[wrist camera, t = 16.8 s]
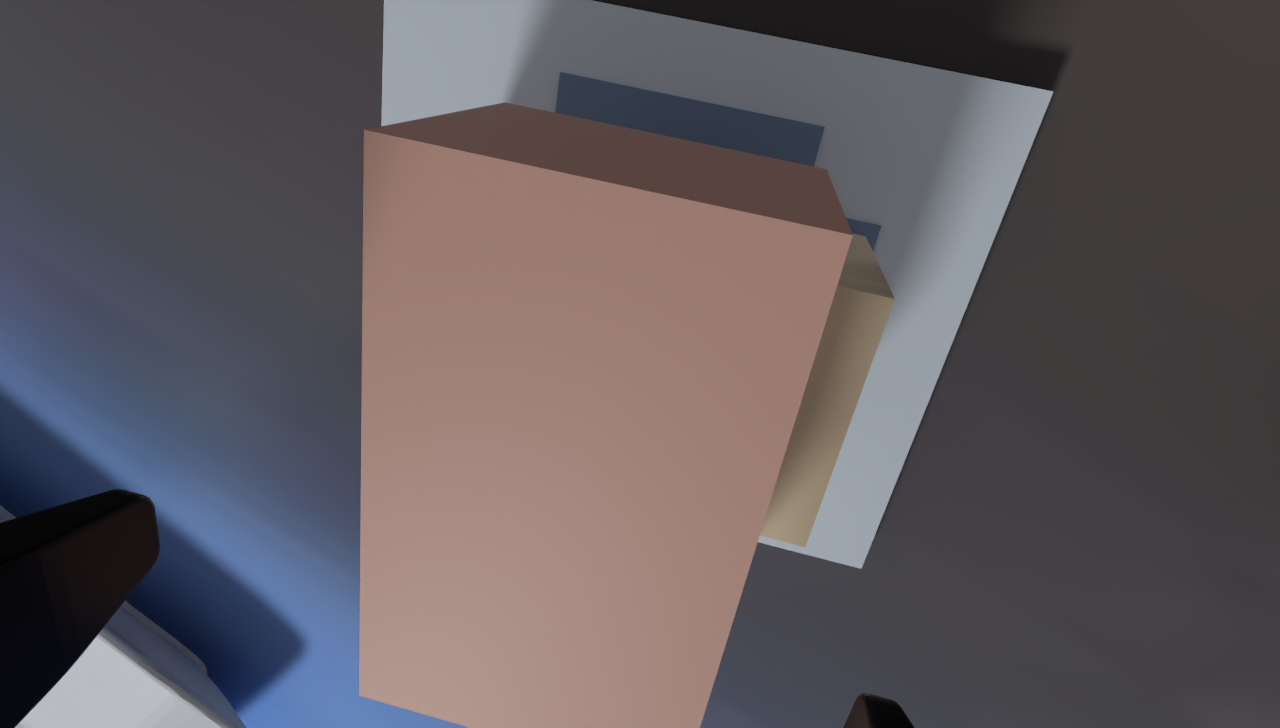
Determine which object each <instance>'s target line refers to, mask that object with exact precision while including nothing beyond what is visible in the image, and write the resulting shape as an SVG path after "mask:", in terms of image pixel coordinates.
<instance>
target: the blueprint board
mask: <svg viewBox="0 0 1280 728" xmlns="http://www.w3.org/2000/svg"><path fill="white" fill-rule="evenodd" d="M1052 94H1053V91H1048V90H1043V89H1038V88H1033V87H1028V86H1023V85H1018V84H1013V83H1008V82H1003V81H998V80H993V79H988V78H983V77H977V76H972V75H967V74H962V73H957V72H952V71H947V70H942V69H937V68H932V67H927V66H922V65H917V64H912V63H907V62H901V61H896V60H891V59H886V58H881V57H876V56H871V55H866V54H861V53H856V52H851V51H846V50H841V49H836V48H831V47H825V46H820V45H815V44H810V43H805V42H800V41H795V40H790V39H785V38H780V37H775V36H770V35H765V34H760V33H755V32H749V31H744V30H739V29H734V28H729V27H724V26H719V25H714V24H709V23H704V22H699V21H694V20H689V19H684V18H679V17H674V16H668V15H663V14H658V13H653V12H648V11H643V10H638V9H633V8H628V7H623V6H618V5H613V4H608V3H603V2H598V1H592V0H384V31H383V77H382V123H381V126H386V125H391V124H396V123H401V122H406V121H412V120H417V119H422V118H427V117H432V116H437V115H442V114H448V113H453V112H458V111H463V110H468V109H473V108H478V107H484V106H489V105H494V104H499V103H504V102H506V103H511V104H516V105H521V106H525V107H530V108H535V109H540V110H545V111H549V112H554V113H559V114H564V115H568V116H573V117H578V118H583V119H588V120H592V121H597V122H602V123H607V124H612V125H616V126H621V127H626V128H631V129H636V130H640V131H645V132H650V133H655V134H660V135H664V136H669V137H674V138H679V139H684V140H688V141H693V142H698V143H703V144H708V145H712V146H717V147H722V148H727V149H732V150H736V151H741V152H746V153H751V154H756V155H760V156H765V157H770V158H775V159H780V160H784V161H789V162H794V163H799V164H804V165H808V166H813V167H818V168H823V169H827V172H828V174H829V177H830V179H831V182H832V184H833V187H834V189H835V192H836V194H837V197H838V199H839V202H840V204H841V207H842V209H843V212H844V214H845V217H846V219H847V222H848V224H849V227H850V229H851V232H852V233H853V234H858V235H862V236H866V238H867V240H868V242H869V244H870V247H871V249H872V251H873V253H874V255H875V257H876V259H877V262H878V264H879V266H880V268H881V270H882V272H883V275H884V277H885V279H886V281H887V283H888V285H889V287H890V290H891V292H892V294H893V296H894V298H895V301H894V303H893V306H892V309H891V312H890V314H889V317H888V320H887V323H886V326H885V328H884V331H883V334H882V337H881V339H880V342H879V345H878V348H877V350H876V353H875V356H874V359H873V361H872V364H871V367H870V370H869V372H868V375H867V378H866V381H865V384H864V386H863V389H862V392H861V395H860V397H859V400H858V403H857V406H856V408H855V411H854V414H853V417H852V419H851V422H850V425H849V428H848V431H847V433H846V436H845V439H844V442H843V444H842V447H841V450H840V453H839V455H838V458H837V461H836V464H835V466H834V469H833V472H832V475H831V478H830V480H829V483H828V486H827V489H826V491H825V494H824V497H823V500H822V502H821V505H820V508H819V511H818V513H817V516H816V519H815V522H814V524H813V527H812V530H811V533H810V536H809V538H808V541H807V544H806V547H802V546H798V545H794V544H791V543H787V542H783V541H779V540H775V539H772V538H768V537H764V536H759V539H758V542H760V543H764V544H768V545H772V546H775V547H779V548H783V549H787V550H791V551H795V552H799V553H802V554H806V555H810V556H814V557H818V558H822V559H826V560H829V561H833V562H837V563H841V564H845V565H849V566H853V567H857V568H860V569H861V568H862V566H863V563H864V561H865V558H866V556H867V553H868V551H869V548H870V546H871V543H872V541H873V539H874V536H875V534H876V531H877V529H878V526H879V524H880V521H881V519H882V516H883V514H884V511H885V509H886V506H887V504H888V501H889V499H890V496H891V494H892V491H893V489H894V486H895V484H896V481H897V479H898V476H899V474H900V471H901V469H902V467H903V464H904V462H905V459H906V457H907V454H908V452H909V449H910V447H911V444H912V442H913V439H914V437H915V434H916V432H917V429H918V427H919V424H920V422H921V419H922V417H923V414H924V412H925V409H926V407H927V404H928V402H929V399H930V397H931V395H932V392H933V390H934V387H935V385H936V382H937V380H938V377H939V375H940V372H941V370H942V367H943V365H944V362H945V360H946V357H947V355H948V352H949V350H950V347H951V345H952V342H953V340H954V337H955V335H956V332H957V330H958V327H959V325H960V323H961V320H962V318H963V315H964V313H965V310H966V308H967V305H968V303H969V300H970V298H971V295H972V293H973V290H974V288H975V285H976V283H977V280H978V278H979V275H980V273H981V270H982V268H983V265H984V263H985V260H986V258H987V255H988V253H989V251H990V248H991V246H992V243H993V241H994V238H995V236H996V233H997V231H998V228H999V226H1000V223H1001V221H1002V218H1003V216H1004V213H1005V211H1006V208H1007V206H1008V203H1009V201H1010V198H1011V196H1012V193H1013V191H1014V188H1015V186H1016V183H1017V181H1018V179H1019V176H1020V174H1021V171H1022V169H1023V166H1024V164H1025V161H1026V159H1027V156H1028V154H1029V151H1030V149H1031V146H1032V144H1033V141H1034V139H1035V136H1036V134H1037V131H1038V129H1039V126H1040V124H1041V121H1042V119H1043V116H1044V114H1045V111H1046V109H1047V107H1048V104H1049V102H1050V99H1051V97H1052Z"/></svg>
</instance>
